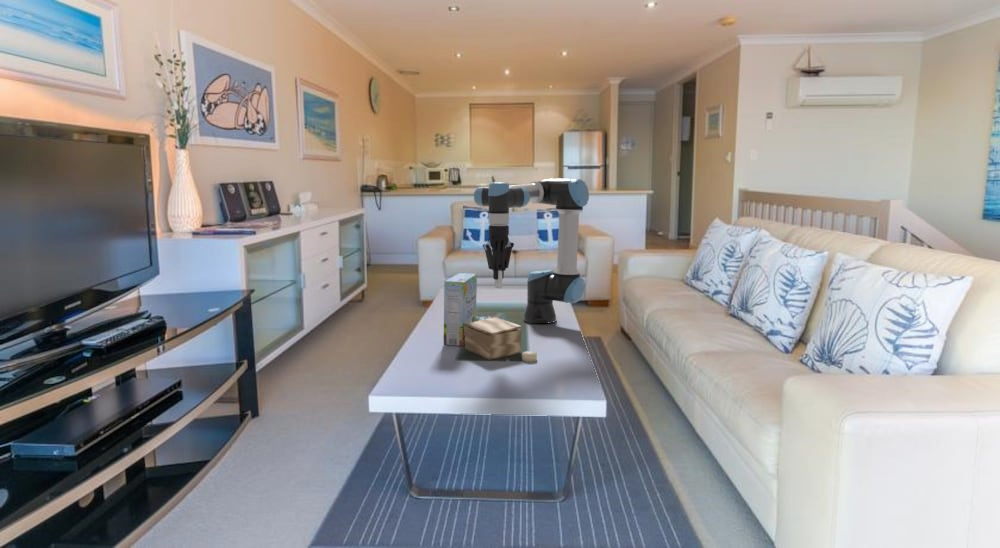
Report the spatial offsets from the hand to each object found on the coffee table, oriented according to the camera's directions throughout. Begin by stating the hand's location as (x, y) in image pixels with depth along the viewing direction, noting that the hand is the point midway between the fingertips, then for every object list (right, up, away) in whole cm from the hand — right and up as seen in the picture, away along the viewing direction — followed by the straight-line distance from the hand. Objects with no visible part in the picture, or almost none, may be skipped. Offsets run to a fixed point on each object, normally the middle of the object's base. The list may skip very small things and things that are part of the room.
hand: (498, 287), depth 213 cm
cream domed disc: (+11, -26, -7) cm, 29 cm away
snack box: (-15, -22, +19) cm, 32 cm away
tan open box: (-2, -24, +3) cm, 24 cm away
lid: (-2, -15, +1) cm, 15 cm away
